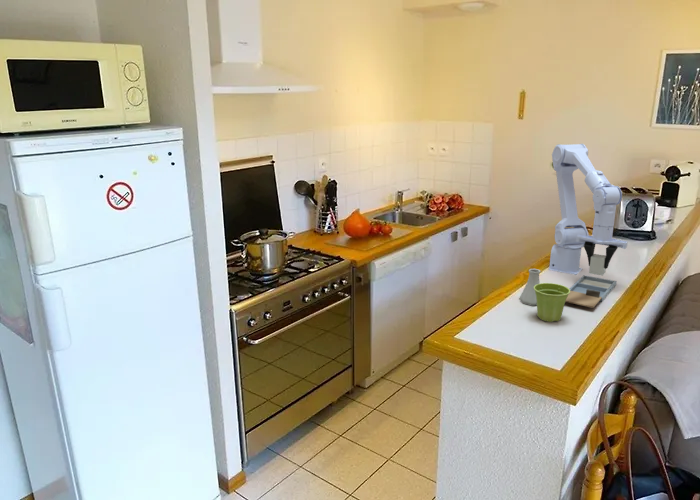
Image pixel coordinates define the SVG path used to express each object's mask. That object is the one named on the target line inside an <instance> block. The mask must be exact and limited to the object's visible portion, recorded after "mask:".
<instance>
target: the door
mask: <svg viewBox="0 0 700 500" xmlns="http://www.w3.org/2000/svg"><path fill="white" fill-rule="evenodd" d="M601 298H602V297H600V291H595V290H590V289H587V290H586V294H585V293H580V292H575V291H570V293H569V294H568V297H567V298H566V301H565V303H569V304H575V305H578V306H583V307H586V308H587V307H588V308H593V309H594V308H596V306H597V304H598V303H600V302H599V301H600V300H601Z"/></svg>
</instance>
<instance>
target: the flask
mask: <svg viewBox="0 0 700 500" xmlns="http://www.w3.org/2000/svg"><path fill="white" fill-rule="evenodd" d="M541 272H542V271H541V270H540V269H537V268H530V269H528V273H529V274H528V279H527V282H526V284H525V286H524V288H523V290H522V292H521V293H520V296H519V297H518V300H519V301H520V303H522V304H525V305H529V306H534V307H535V306H537V299H536V294H535V290H534V286H535V285H537V284H541V282H540V273H541Z"/></svg>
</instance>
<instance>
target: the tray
mask: <svg viewBox="0 0 700 500" xmlns="http://www.w3.org/2000/svg"><path fill="white" fill-rule="evenodd" d="M616 285H617V280H611V279H608V278H601V277H596V276H590V275H584V274H583V275H582V276H581V277H579V279H578V280H577V281H576V282H575V283H574V284H573V285H571V286H570V287H569V289H570V291H575V292H580V293H585V294H586V290H587V289H590V290H595V291H600V297H602V298H601V300H600V301H599V302H598V303H602V302H604V300H605V299H606V298H607V297H608V295H609V294H610V293H611V292H612V290H614V288H615V287H616Z"/></svg>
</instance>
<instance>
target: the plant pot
mask: <svg viewBox="0 0 700 500" xmlns="http://www.w3.org/2000/svg"><path fill="white" fill-rule="evenodd" d="M534 290H535V294H536V299H537V305H536V314H537V315H536V316H537V318H539V319H540V320H542V321H544V322H549V323H550V322H551V323H552V322H559V321H560V320H561V319H562V316H563V312H564V308H565V303H566V302H565V301H566V298H567V297H568V294H569V293H570V287H567V286H565V285H563V284H558V283H553V282H551V283H550V282H542V283H541V282H540V284H537V285H535V286H534Z"/></svg>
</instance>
